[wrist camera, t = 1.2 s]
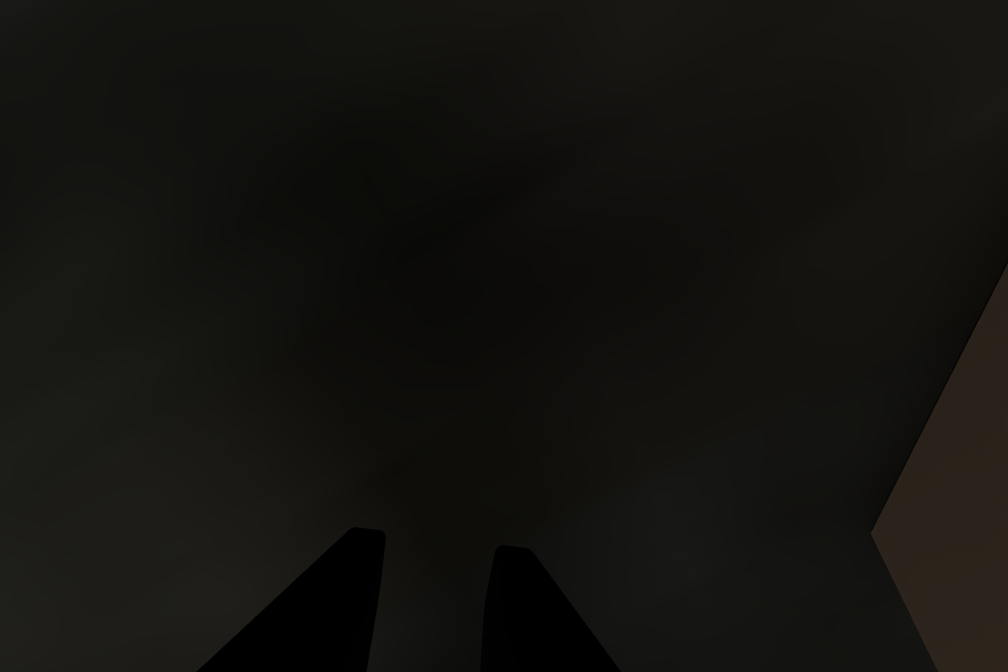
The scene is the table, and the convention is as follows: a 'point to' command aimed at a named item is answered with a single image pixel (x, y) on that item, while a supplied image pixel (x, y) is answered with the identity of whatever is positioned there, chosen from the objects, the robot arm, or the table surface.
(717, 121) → the table surface
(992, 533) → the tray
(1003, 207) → the table surface
